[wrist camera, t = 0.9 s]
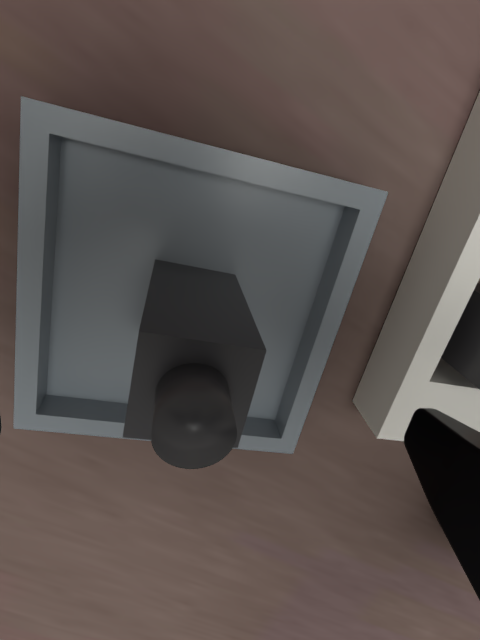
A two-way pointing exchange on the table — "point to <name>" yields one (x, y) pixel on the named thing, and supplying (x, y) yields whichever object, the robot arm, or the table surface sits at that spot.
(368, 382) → the power strip
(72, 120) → the tray
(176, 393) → the plug
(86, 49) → the table surface
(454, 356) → the twin plug
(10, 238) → the table surface
